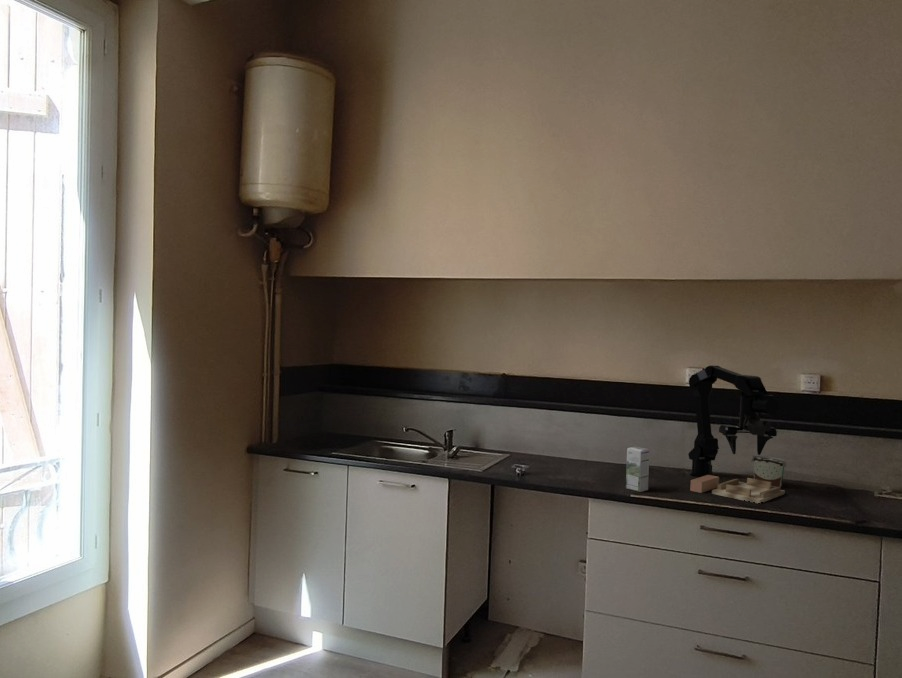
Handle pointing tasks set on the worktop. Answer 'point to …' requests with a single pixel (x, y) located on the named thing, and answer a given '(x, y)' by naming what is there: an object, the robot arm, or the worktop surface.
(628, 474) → the syrup box
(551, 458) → the worktop surface
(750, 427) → the robot arm
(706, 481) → the pinkish brown block
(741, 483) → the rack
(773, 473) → the food container
